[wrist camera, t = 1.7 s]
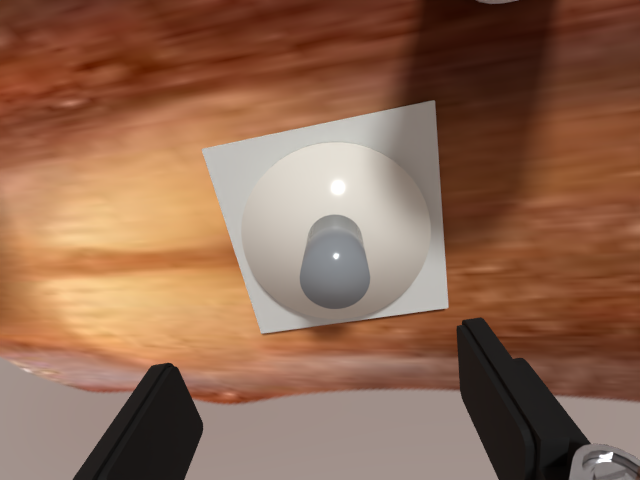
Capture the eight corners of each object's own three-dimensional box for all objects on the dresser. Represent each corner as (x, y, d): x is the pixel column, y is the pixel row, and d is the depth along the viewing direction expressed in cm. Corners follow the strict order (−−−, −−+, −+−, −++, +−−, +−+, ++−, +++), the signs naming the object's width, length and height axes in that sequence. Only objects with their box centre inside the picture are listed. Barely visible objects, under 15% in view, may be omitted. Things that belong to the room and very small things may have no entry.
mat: (432, 100, 19) (434, 100, 19) (446, 304, 24) (448, 307, 24) (204, 148, 21) (201, 149, 20) (262, 329, 26) (261, 333, 25)
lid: (418, 122, 19) (452, 129, 13) (433, 297, 23) (463, 357, 18) (221, 162, 20) (179, 185, 15) (270, 321, 25) (252, 383, 19)
